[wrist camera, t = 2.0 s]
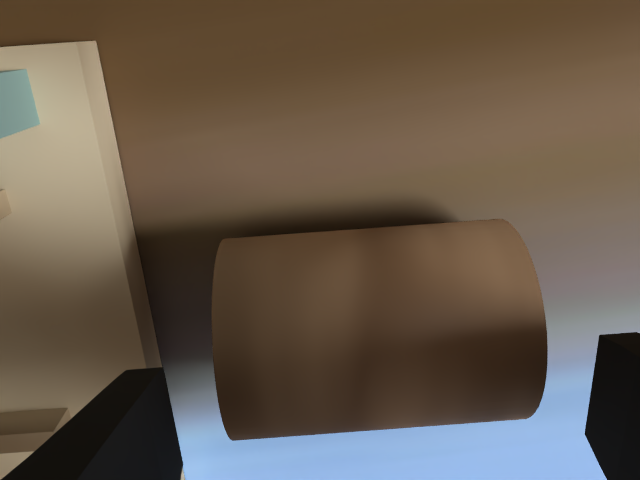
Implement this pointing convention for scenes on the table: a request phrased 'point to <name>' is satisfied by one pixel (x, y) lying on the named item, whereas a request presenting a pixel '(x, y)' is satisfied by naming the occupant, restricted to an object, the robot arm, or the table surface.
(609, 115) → the table surface
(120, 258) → the roller bed
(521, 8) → the table surface
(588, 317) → the table surface
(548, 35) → the table surface
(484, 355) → the roller
